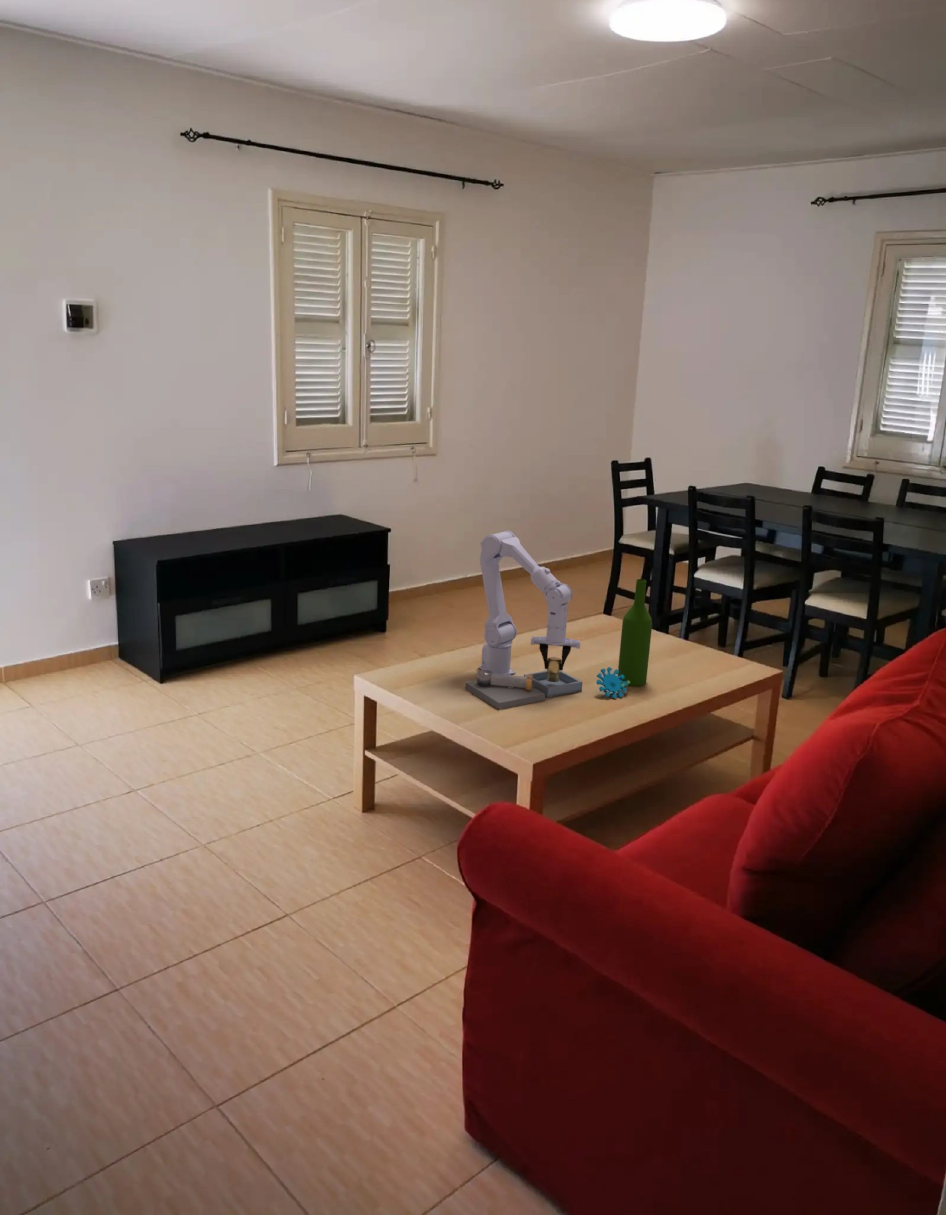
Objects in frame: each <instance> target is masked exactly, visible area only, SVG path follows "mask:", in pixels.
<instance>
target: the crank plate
mask: <svg viewBox="0 0 946 1215" xmlns="http://www.w3.org/2000/svg"><path fill="white" fill-rule="evenodd" d="M509 675H512V674H509ZM465 689H466V690H467V691H469V692H470V693H472V694H474V695H475V696H476V697H478V698H480V699H481V700H483V701H484V702H485V703H487V704H489V705H491V706H492V707H494V708H495V709H497V710H505V709H508V708H514V707H519V706H523V705H529V704H533V703H539V702H545V700H546V697H545V694H544V693H542V692H541V691H539V690H537V689H535V688H534V687H532V688H531V690H526V688H522V687H510V686H499V685H490V686H480V685H478V684H477V679H475V680H470V681H466V682H465Z"/></svg>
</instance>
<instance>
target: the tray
mask: <svg viewBox="0 0 946 1215" xmlns="http://www.w3.org/2000/svg"><path fill="white" fill-rule="evenodd" d="M527 675H533V682H532V687H534V688H535V689H537V690H539V691H541V692H542V693H544V694H545V698H547V699H549V698H554V697H559V695H560V696H563V695H569V694H574V693H575V694H576V693H579V691H580V692H582V691H583V681H582V680H580V679H578V678H576V677H574V676H572V675H570V674H568V673H567V672H564V671H563V670H560V679H559V681H558V682H550V681H547V680H546V675H547V670H543V671H542V670H541V671H538V672H532V673H531V672H530V673H526V674H523V676H526V677H527Z"/></svg>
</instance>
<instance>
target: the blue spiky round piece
mask: <svg viewBox="0 0 946 1215" xmlns="http://www.w3.org/2000/svg"><path fill="white" fill-rule="evenodd" d="M612 671H613V668H612V667H611V666H608V667H607V668H602V669H600V672H598V673H597V675H596V677H597V678H598V679H597V680H596V685H599V688H598V690H599V692H604V695H605V697H607V698H608V697H609V696H610V695H611V693H612V695H611V698H612V699H613V698H616V699H617V698H623V697H624V694H626V692H627V691H628V689H627V687H628V686H627V685H629V684H630V681H629V680H628V681H627V682H626V681H621V680H620V679H624V678H625V677H624V675H623V674H622V675H621V676H618V673H619V671H618V668H616V669H614V671H613V672H612ZM606 672H607V673H606ZM611 672H612V673H611ZM619 678H620V679H619ZM600 685H601V686H600ZM617 693H618V694H617Z"/></svg>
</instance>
